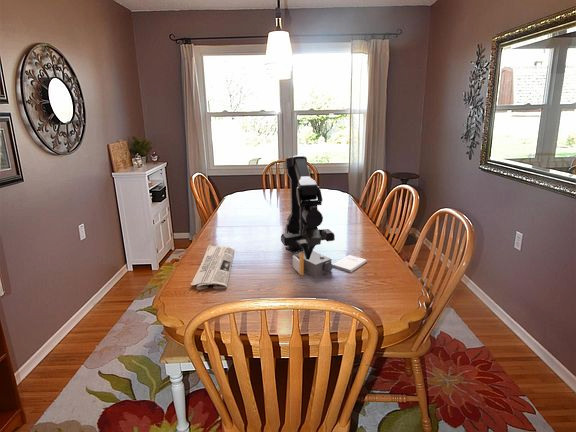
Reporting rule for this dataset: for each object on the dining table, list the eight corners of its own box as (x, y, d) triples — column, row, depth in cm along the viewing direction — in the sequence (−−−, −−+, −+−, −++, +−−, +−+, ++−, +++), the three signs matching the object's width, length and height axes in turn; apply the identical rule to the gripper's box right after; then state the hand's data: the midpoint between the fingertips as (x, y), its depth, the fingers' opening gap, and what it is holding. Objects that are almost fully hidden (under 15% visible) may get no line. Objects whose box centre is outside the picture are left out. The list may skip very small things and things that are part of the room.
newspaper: (227, 290, 129) (226, 280, 128) (190, 291, 128) (189, 282, 127) (234, 251, 162) (234, 243, 161) (205, 252, 162) (205, 244, 161)
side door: (291, 266, 144) (291, 246, 142) (294, 266, 145) (294, 245, 142) (300, 275, 137) (300, 253, 135) (303, 274, 138) (303, 253, 135)
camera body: (294, 266, 145) (294, 253, 144) (309, 261, 150) (310, 248, 148) (318, 278, 135) (318, 264, 133) (334, 272, 140) (334, 258, 138)
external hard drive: (331, 268, 145) (348, 258, 154) (350, 273, 140) (366, 263, 149) (332, 264, 144) (348, 254, 153) (350, 269, 139) (366, 259, 148)
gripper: (288, 228, 123) (289, 271, 127) (341, 222, 128) (340, 264, 132) (280, 218, 133) (280, 259, 138) (329, 213, 138) (328, 253, 143)
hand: (307, 259), depth 137 cm, fingers closed
